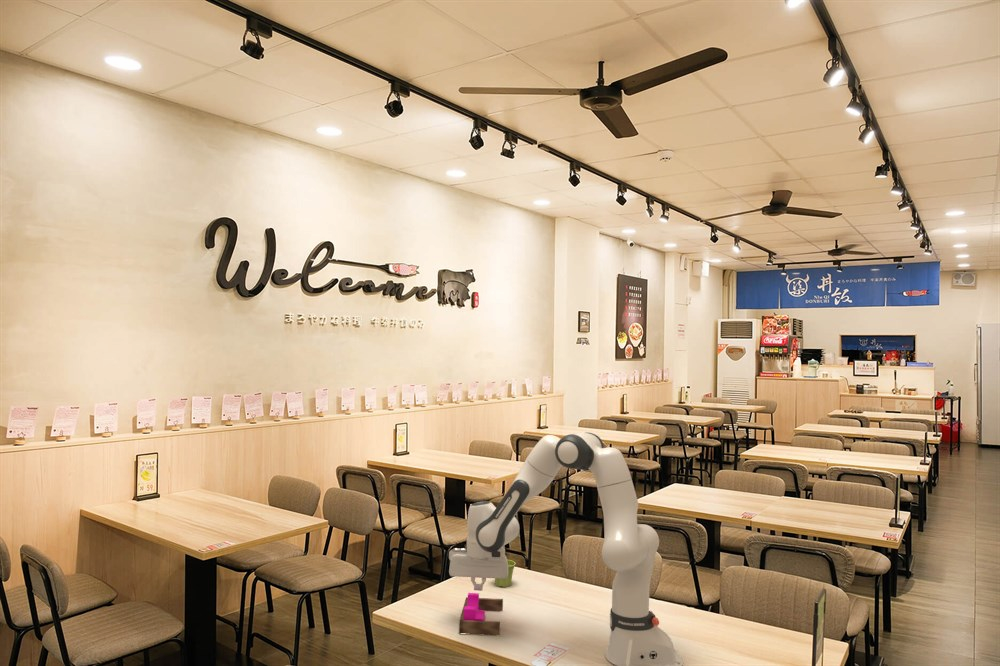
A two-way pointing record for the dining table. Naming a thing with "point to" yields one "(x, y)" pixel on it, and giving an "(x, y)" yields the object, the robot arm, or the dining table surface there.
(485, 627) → the walnut bay
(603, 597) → the dining table surface
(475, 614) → the toy block
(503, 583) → the plant pot
